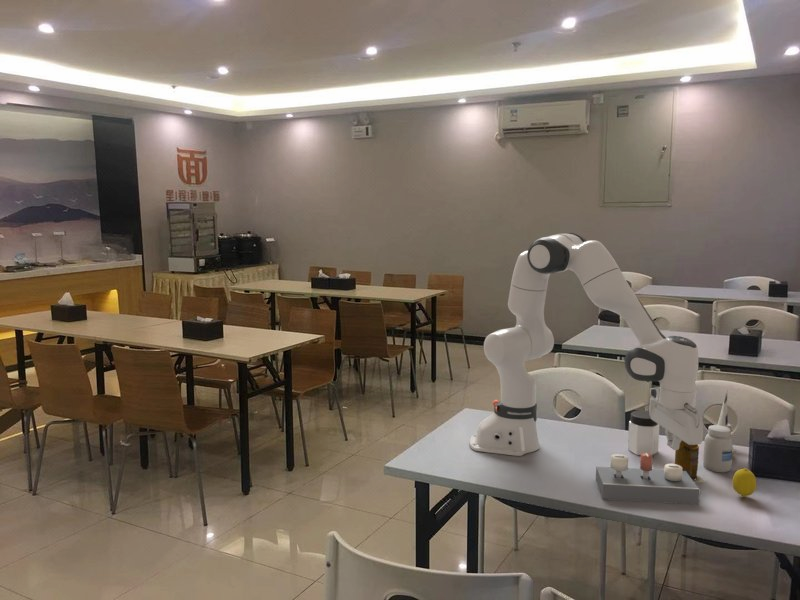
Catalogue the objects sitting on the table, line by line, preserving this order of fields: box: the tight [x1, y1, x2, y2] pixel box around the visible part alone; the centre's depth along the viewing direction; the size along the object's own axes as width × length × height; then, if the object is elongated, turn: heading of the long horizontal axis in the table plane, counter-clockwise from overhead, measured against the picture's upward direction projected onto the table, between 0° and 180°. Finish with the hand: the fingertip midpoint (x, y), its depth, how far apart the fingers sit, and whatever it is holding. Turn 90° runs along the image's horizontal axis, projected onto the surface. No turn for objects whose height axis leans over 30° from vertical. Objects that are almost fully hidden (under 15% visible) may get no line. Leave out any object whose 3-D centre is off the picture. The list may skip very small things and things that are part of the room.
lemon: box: [732, 467, 757, 498], centre depth 169 cm, size 6×6×8 cm
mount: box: [595, 466, 700, 505], centre depth 173 cm, size 24×12×4 cm, turn 82°
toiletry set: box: [702, 388, 735, 473], centre depth 194 cm, size 25×8×21 cm, turn 149°
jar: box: [627, 410, 660, 456], centre depth 201 cm, size 9×8×12 cm
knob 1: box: [610, 453, 629, 478], centre depth 173 cm, size 4×4×7 cm
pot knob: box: [639, 453, 654, 480], centre depth 172 cm, size 3×3×8 cm
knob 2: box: [663, 463, 682, 481], centre depth 171 cm, size 4×4×7 cm
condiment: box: [674, 440, 706, 484], centre depth 182 cm, size 7×8×12 cm
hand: (672, 447), depth 171 cm, fingers closed
